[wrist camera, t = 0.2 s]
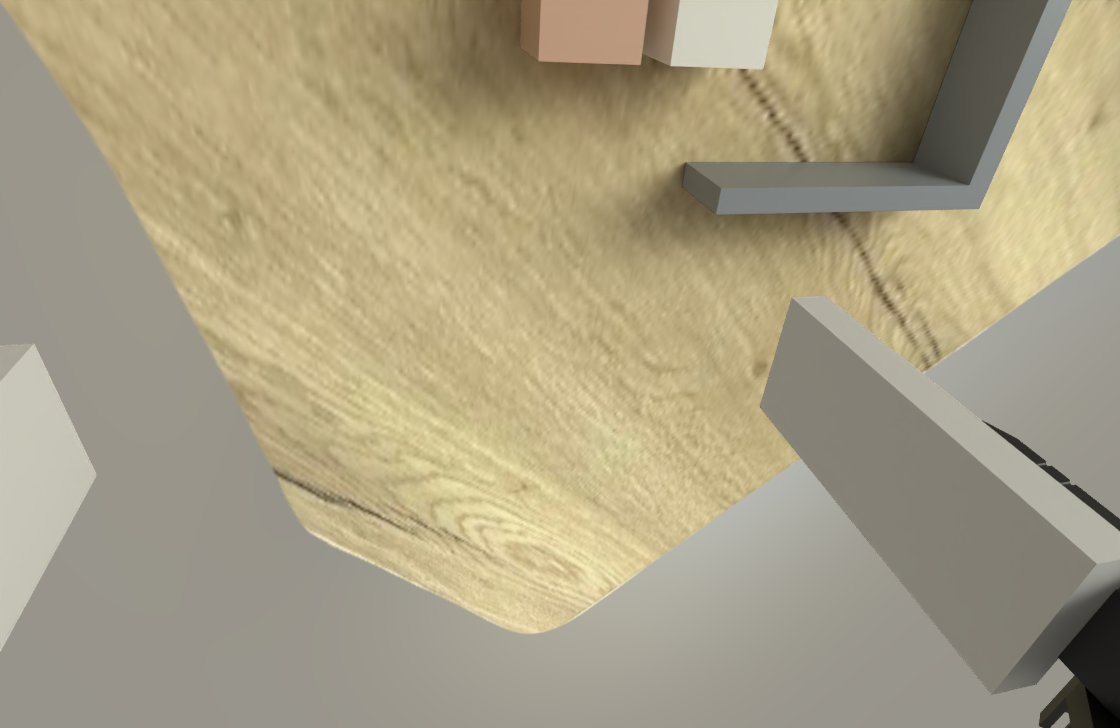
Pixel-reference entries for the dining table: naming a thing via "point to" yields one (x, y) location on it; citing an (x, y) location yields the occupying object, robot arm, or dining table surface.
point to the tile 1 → (584, 30)
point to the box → (948, 141)
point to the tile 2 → (709, 32)
